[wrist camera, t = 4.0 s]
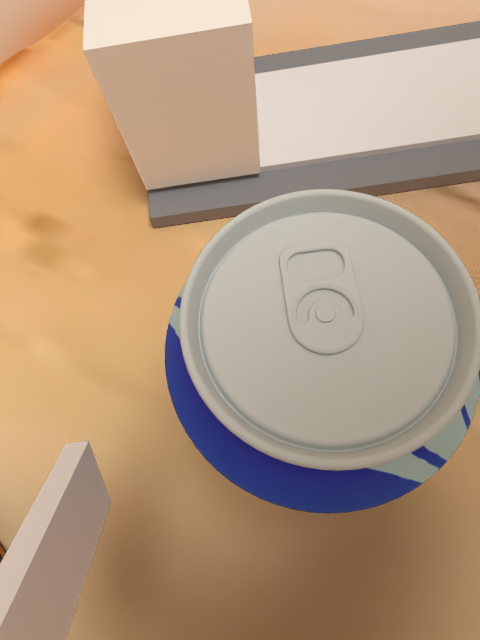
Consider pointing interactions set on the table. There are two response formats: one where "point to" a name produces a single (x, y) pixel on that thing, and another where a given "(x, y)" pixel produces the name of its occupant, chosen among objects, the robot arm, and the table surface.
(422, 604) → the table surface
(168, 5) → the rail board
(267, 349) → the beer can
